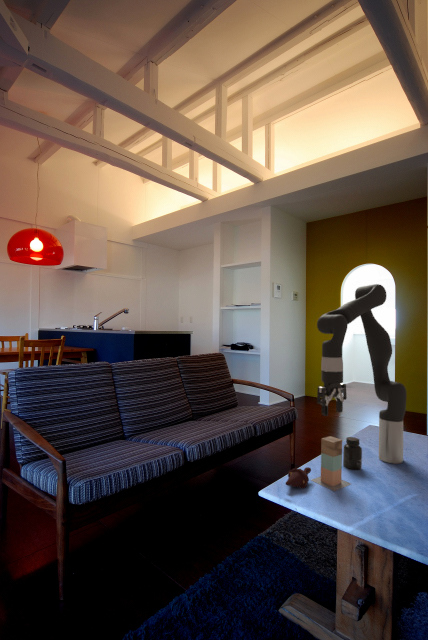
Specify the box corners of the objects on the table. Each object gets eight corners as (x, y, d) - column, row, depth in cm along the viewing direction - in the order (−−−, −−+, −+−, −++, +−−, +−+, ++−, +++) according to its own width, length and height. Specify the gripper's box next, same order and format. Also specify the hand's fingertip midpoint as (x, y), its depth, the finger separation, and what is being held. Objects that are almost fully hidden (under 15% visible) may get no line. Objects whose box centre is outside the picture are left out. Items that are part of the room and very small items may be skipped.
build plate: (327, 476, 132) (327, 473, 132) (351, 486, 124) (351, 483, 124) (310, 482, 126) (310, 480, 126) (334, 494, 118) (334, 491, 118)
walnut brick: (329, 450, 129) (330, 436, 129) (341, 454, 125) (342, 440, 125) (321, 452, 126) (321, 438, 126) (333, 457, 122) (333, 442, 122)
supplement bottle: (363, 473, 135) (363, 442, 135) (344, 471, 137) (345, 440, 137) (359, 466, 142) (360, 436, 142) (341, 465, 143) (342, 435, 144)
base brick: (329, 477, 129) (329, 463, 129) (341, 482, 125) (341, 468, 125) (320, 481, 126) (320, 466, 126) (332, 486, 122) (332, 471, 122)
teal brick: (329, 463, 129) (330, 450, 129) (341, 468, 125) (342, 454, 125) (320, 466, 126) (321, 452, 126) (332, 471, 122) (333, 457, 122)
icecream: (298, 480, 114) (320, 471, 124) (280, 467, 119) (302, 460, 129) (292, 500, 114) (314, 489, 125) (274, 486, 119) (297, 477, 130)
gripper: (335, 366, 136) (335, 409, 136) (311, 369, 128) (311, 414, 128) (352, 368, 130) (352, 413, 130) (328, 372, 122) (329, 419, 122)
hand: (332, 413), depth 129 cm, fingers open, 8 cm apart
